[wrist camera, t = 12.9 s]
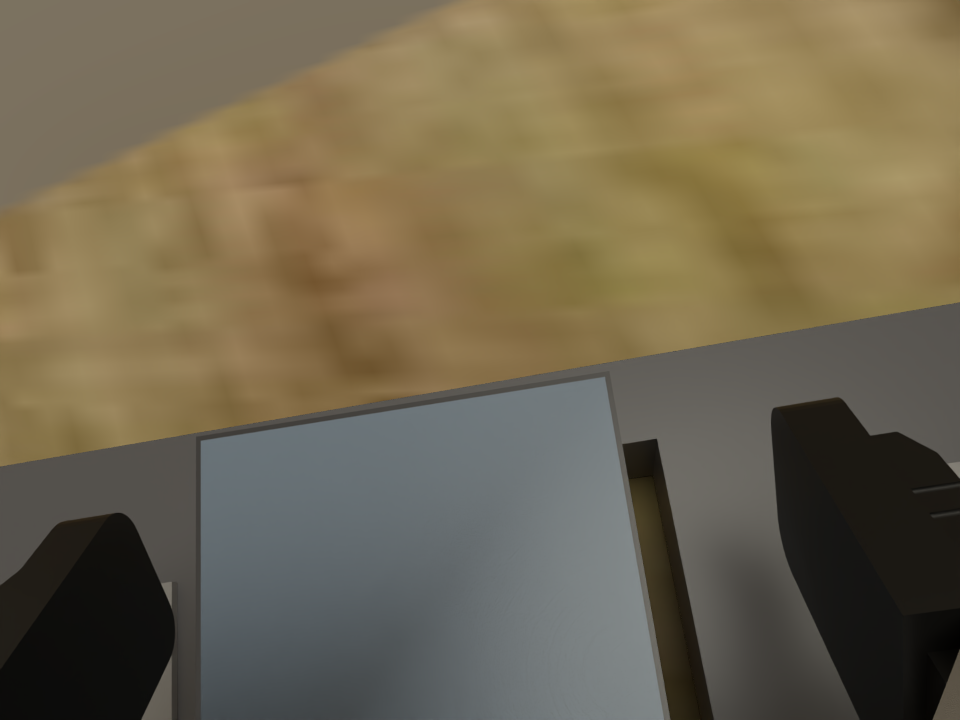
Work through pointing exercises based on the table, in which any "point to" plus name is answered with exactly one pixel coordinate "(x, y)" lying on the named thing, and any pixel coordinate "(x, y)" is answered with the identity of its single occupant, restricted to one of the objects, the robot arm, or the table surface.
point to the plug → (426, 564)
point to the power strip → (647, 451)
